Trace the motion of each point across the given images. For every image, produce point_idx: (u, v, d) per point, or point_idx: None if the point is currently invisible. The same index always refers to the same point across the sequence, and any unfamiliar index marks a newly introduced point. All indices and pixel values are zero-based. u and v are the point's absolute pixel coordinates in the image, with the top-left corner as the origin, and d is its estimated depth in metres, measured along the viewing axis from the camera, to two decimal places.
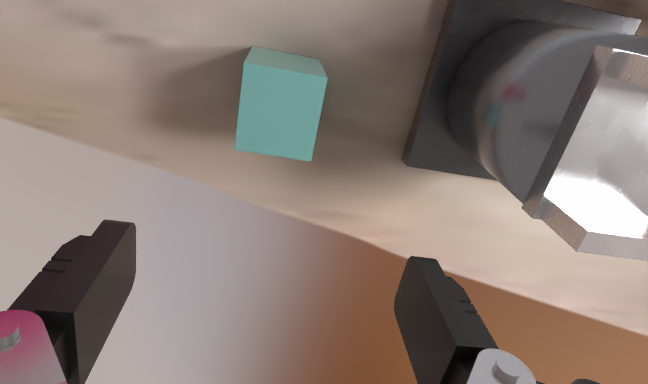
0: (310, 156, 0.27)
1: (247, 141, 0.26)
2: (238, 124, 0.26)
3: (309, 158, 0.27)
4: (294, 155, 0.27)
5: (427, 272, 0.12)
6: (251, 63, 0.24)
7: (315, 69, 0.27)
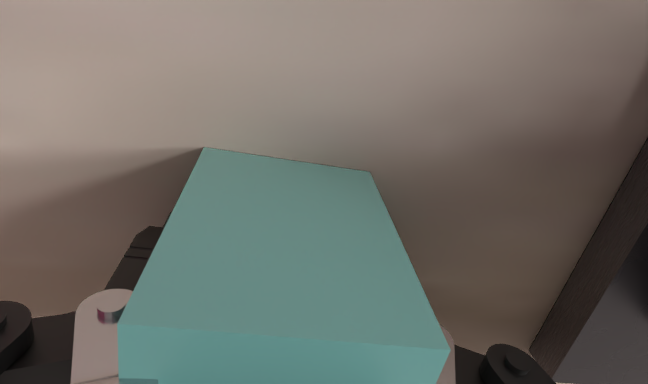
0: None
1: None
2: None
3: None
4: None
5: None
6: (151, 320, 0.06)
7: (384, 263, 0.08)
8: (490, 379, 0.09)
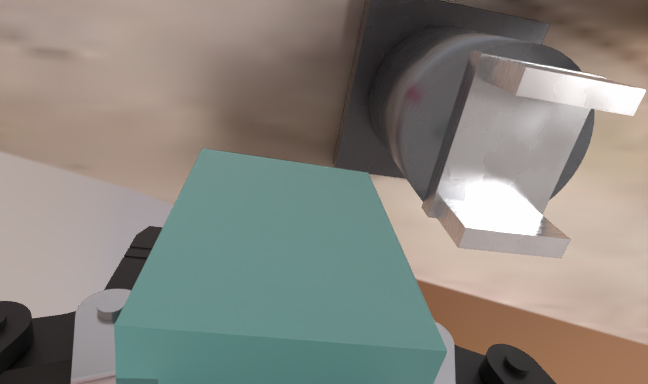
0: None
1: None
2: None
3: None
4: None
5: None
6: (148, 321, 0.06)
7: (381, 264, 0.08)
8: (490, 379, 0.09)
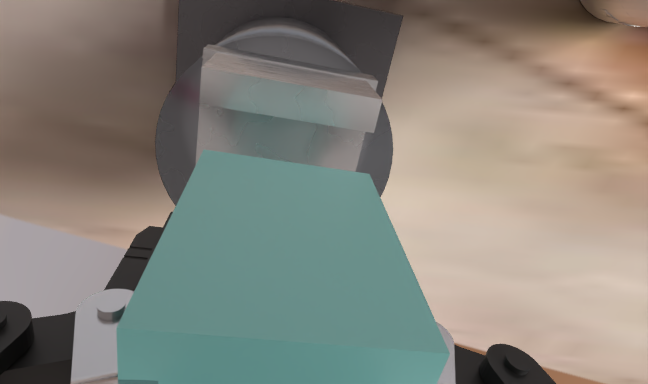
0: None
1: None
2: None
3: None
4: None
5: None
6: (150, 324, 0.06)
7: (383, 266, 0.08)
8: (490, 379, 0.09)
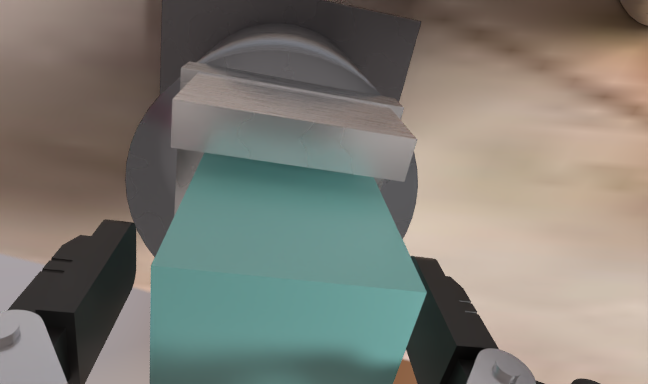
0: None
1: None
2: None
3: None
4: None
5: (427, 272, 0.12)
6: (178, 264, 0.07)
7: (373, 228, 0.10)
8: None
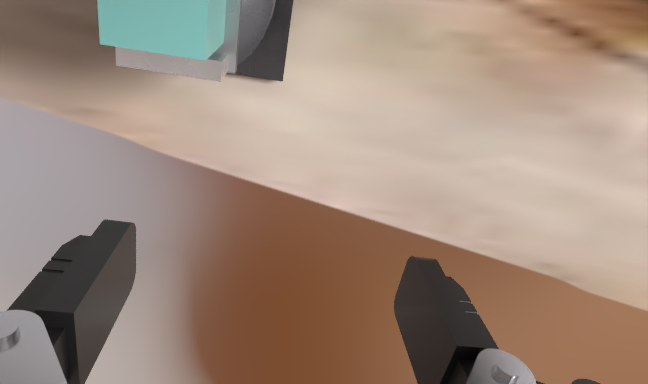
0: (203, 53, 0.21)
1: (115, 31, 0.20)
2: (99, 6, 0.19)
3: (202, 56, 0.21)
4: (181, 51, 0.21)
5: (427, 272, 0.12)
6: None
7: None
8: None
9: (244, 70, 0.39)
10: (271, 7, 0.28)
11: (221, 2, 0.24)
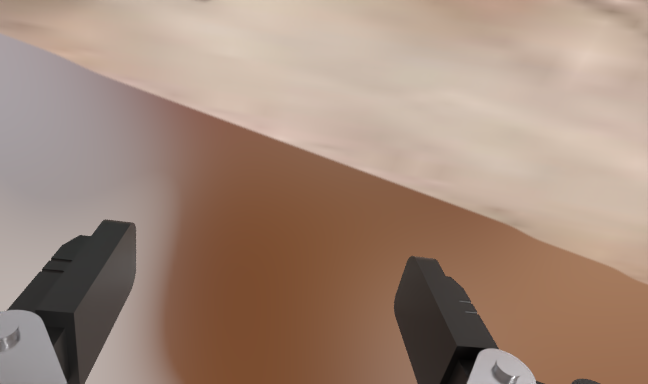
0: None
1: None
2: None
3: None
4: None
5: (427, 272, 0.12)
6: None
7: None
8: None
9: None
10: None
11: None
